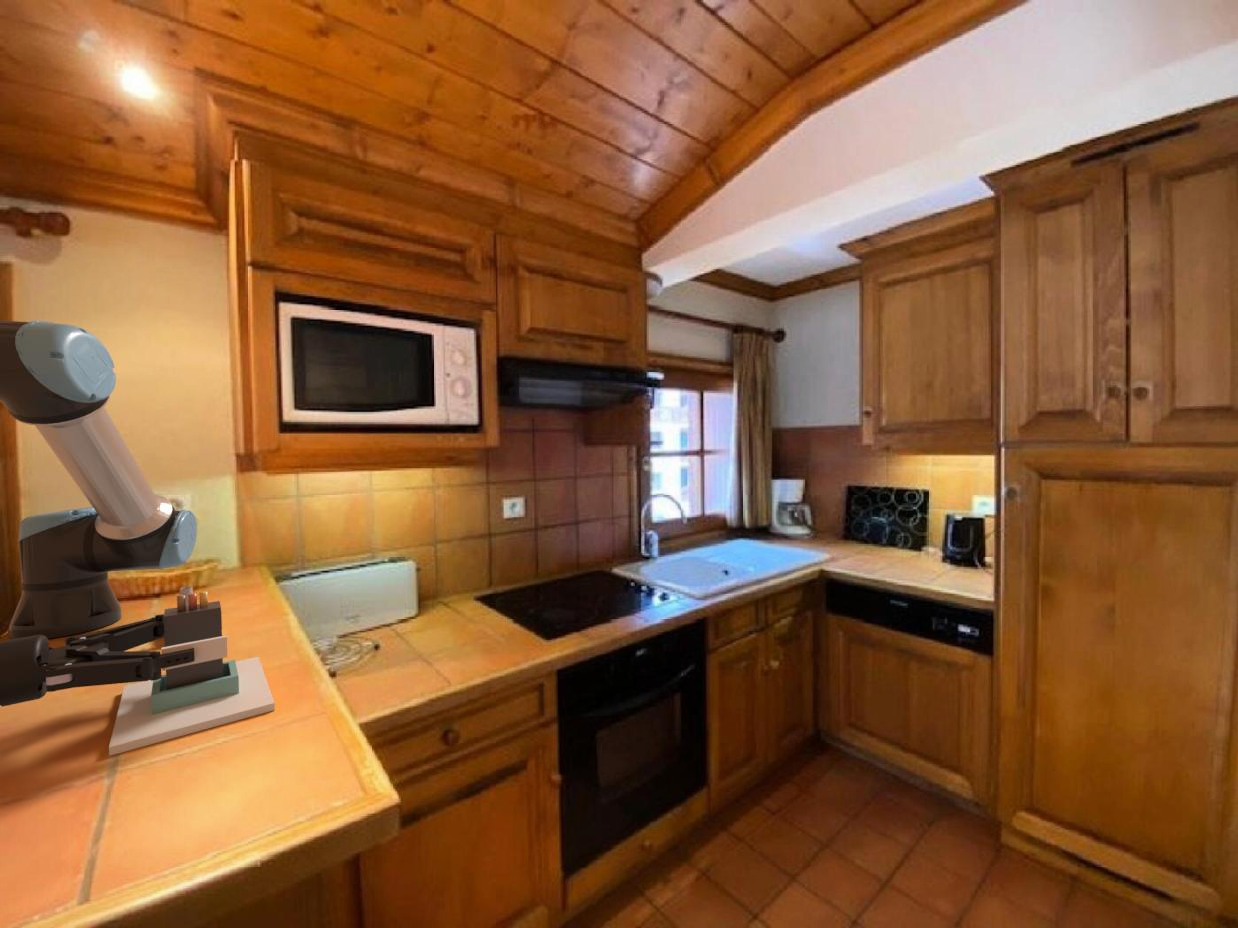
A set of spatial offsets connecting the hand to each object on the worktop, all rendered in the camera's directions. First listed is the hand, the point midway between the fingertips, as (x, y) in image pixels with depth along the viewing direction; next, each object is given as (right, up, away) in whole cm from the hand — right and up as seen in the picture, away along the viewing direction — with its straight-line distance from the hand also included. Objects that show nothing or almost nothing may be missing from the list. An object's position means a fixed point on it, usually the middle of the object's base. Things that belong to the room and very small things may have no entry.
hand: (224, 631), depth 75 cm
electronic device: (-26, -9, +24) cm, 37 cm away
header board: (-3, -9, -2) cm, 10 cm away
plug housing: (-3, -8, -2) cm, 9 cm away
